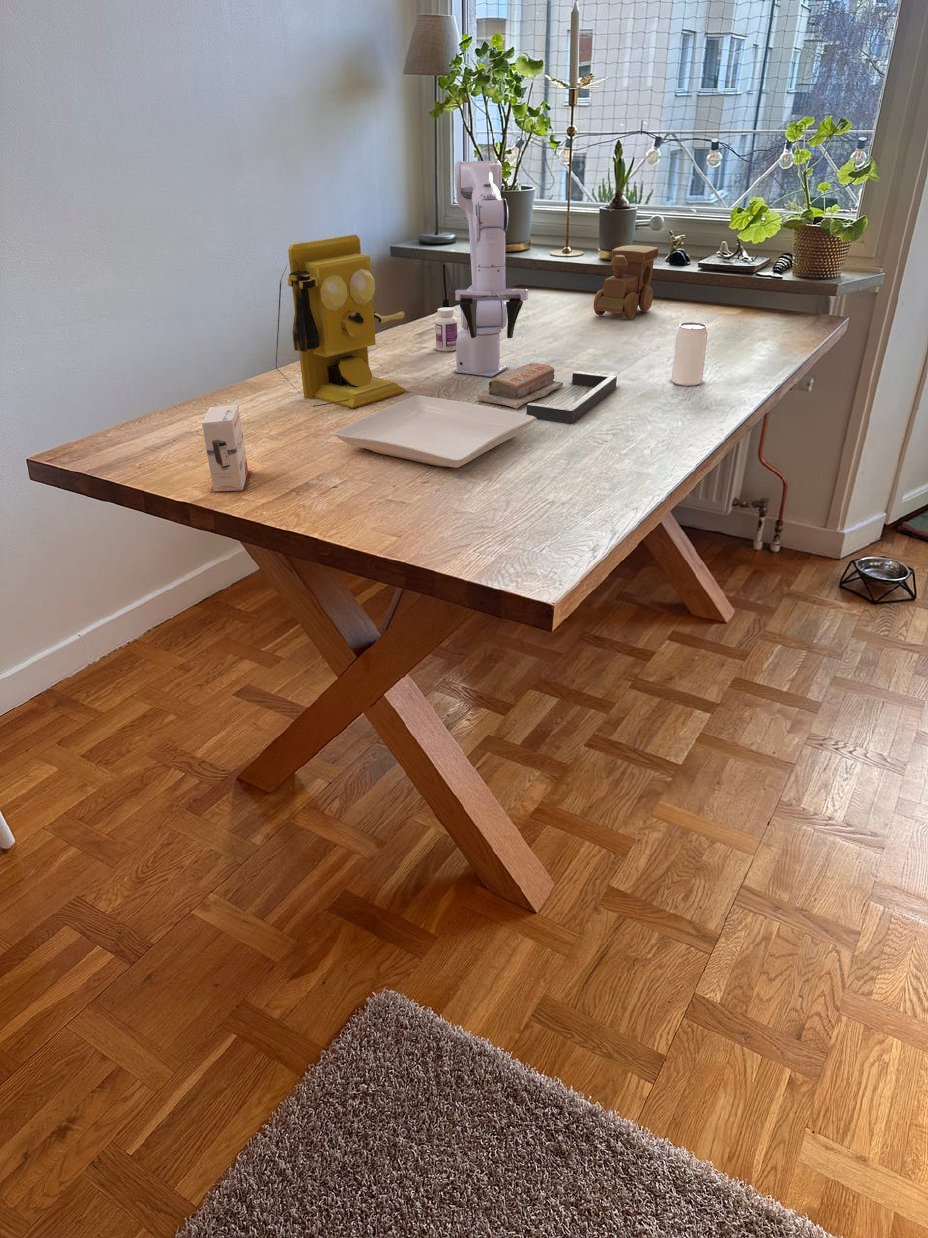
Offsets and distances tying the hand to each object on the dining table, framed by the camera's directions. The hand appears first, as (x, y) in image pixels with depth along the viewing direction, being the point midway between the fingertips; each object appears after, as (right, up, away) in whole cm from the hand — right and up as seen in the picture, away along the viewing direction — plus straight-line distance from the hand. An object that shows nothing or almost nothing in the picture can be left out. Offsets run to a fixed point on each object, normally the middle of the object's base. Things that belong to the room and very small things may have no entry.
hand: (491, 337), depth 183 cm
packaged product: (+6, -11, +4) cm, 13 cm away
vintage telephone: (-29, -11, +6) cm, 32 cm away
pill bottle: (-10, +9, +38) cm, 40 cm away
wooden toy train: (+39, +28, +69) cm, 84 cm away
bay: (+16, -13, 0) cm, 21 cm away
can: (+42, -7, +10) cm, 44 cm away
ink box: (-44, -35, -35) cm, 66 cm away
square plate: (-11, -26, -20) cm, 34 cm away
